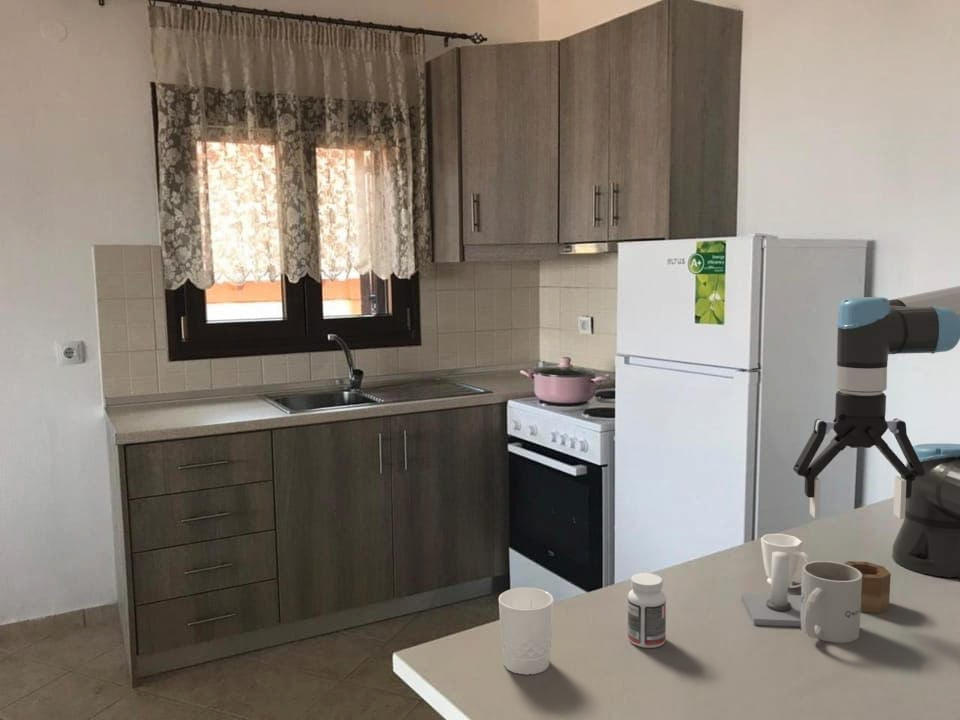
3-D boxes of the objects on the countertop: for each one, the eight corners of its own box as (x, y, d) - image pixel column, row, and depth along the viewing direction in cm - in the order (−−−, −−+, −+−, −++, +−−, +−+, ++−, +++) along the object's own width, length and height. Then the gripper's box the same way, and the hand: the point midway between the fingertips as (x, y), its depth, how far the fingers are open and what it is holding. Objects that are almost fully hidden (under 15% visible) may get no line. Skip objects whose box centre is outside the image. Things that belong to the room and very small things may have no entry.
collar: (877, 595, 139) (879, 562, 138) (893, 613, 132) (895, 578, 131) (834, 593, 140) (835, 560, 139) (847, 611, 133) (849, 576, 132)
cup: (777, 572, 150) (778, 530, 149) (823, 591, 141) (825, 546, 140) (750, 580, 147) (752, 537, 146) (796, 599, 138) (798, 554, 137)
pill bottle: (667, 635, 126) (668, 574, 124) (663, 651, 120) (664, 588, 119) (630, 629, 128) (631, 569, 126) (624, 646, 122) (625, 583, 121)
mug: (821, 615, 133) (823, 557, 132) (870, 635, 126) (873, 573, 124) (773, 634, 126) (775, 573, 125) (823, 657, 119) (825, 592, 118)
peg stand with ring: (801, 601, 137) (803, 544, 136) (819, 627, 127) (821, 566, 126) (741, 598, 139) (742, 542, 137) (753, 624, 129) (755, 564, 127)
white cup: (537, 683, 112) (537, 614, 111) (489, 668, 116) (488, 602, 115) (562, 659, 119) (562, 594, 117) (516, 646, 123) (515, 583, 121)
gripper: (930, 387, 135) (924, 509, 137) (776, 388, 137) (774, 508, 140) (951, 394, 127) (945, 524, 130) (788, 395, 130) (785, 522, 133)
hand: (856, 516), depth 135 cm, fingers open, 13 cm apart
